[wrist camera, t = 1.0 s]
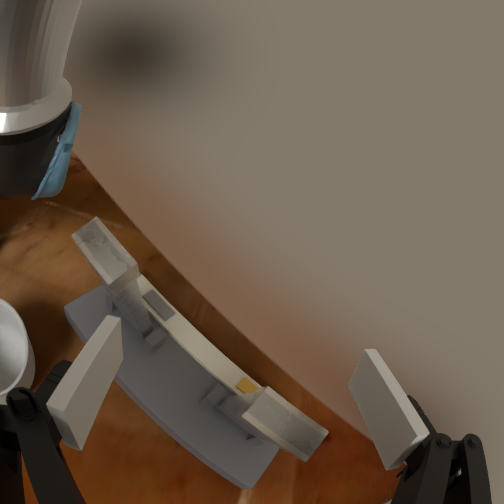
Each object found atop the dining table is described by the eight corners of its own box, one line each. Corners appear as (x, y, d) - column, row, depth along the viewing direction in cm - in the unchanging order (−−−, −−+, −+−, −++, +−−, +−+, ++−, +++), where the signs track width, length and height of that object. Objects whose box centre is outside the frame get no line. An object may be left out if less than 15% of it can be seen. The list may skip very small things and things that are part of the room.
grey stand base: (66, 318, 30) (61, 295, 26) (131, 279, 39) (136, 254, 35) (240, 488, 24) (262, 489, 21) (287, 421, 33) (310, 411, 30)
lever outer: (212, 409, 28) (241, 416, 14) (226, 394, 29) (268, 385, 15) (246, 435, 27) (306, 462, 13) (259, 420, 28) (328, 431, 14)
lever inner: (115, 312, 31) (70, 235, 17) (130, 299, 32) (97, 215, 18) (142, 342, 30) (108, 285, 16) (157, 329, 31) (136, 262, 17)
